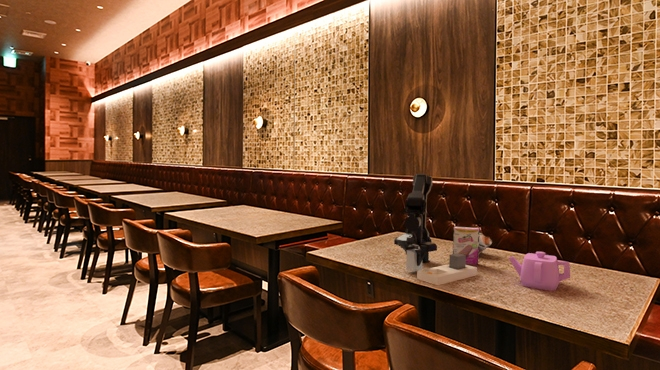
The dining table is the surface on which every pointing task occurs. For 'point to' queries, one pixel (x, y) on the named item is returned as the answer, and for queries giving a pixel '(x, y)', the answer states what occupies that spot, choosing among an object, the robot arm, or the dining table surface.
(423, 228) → the robot arm
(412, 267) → the plug
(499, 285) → the dining table surface
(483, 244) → the lucky cat figurine
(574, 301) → the dining table surface
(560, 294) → the dining table surface
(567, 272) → the teakettle
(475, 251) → the candy bar box
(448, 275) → the power strip
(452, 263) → the twin plug
